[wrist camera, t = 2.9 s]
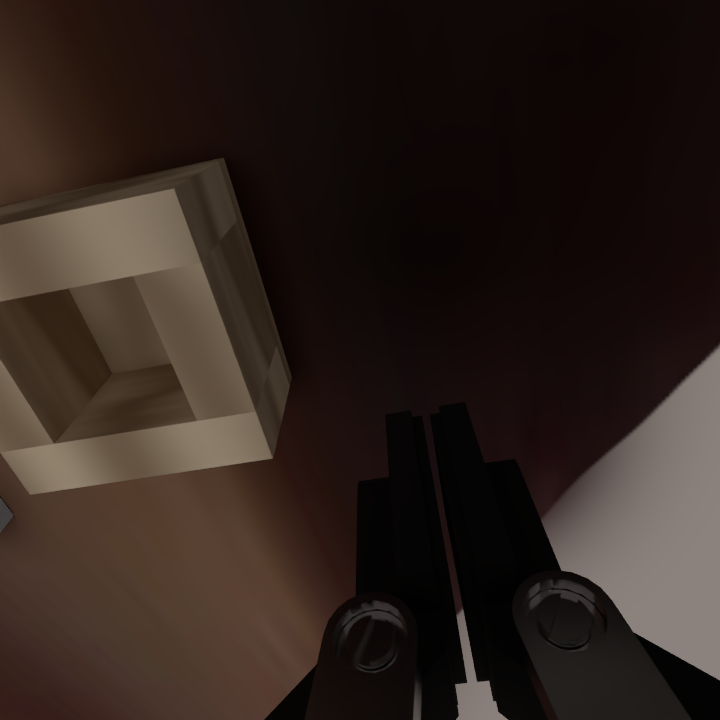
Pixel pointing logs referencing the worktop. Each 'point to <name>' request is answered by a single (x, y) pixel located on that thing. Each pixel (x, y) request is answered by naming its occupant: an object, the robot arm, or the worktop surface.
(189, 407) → the socket block
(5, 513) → the backstop wall
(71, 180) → the worktop surface
